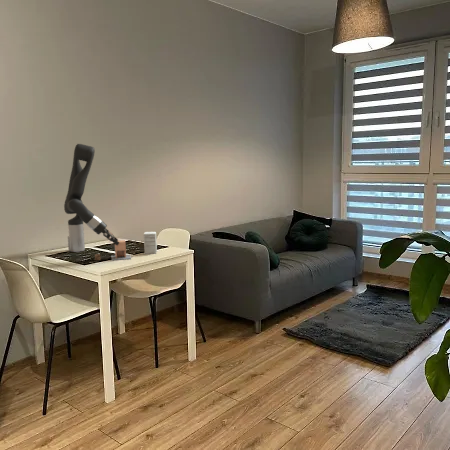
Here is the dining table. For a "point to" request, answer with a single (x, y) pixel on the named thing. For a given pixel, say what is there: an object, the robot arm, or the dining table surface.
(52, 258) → the dining table surface
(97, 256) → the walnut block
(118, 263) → the dining table surface
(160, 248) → the dining table surface
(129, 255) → the grey mat
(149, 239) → the supplement box
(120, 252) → the terracotta cover
